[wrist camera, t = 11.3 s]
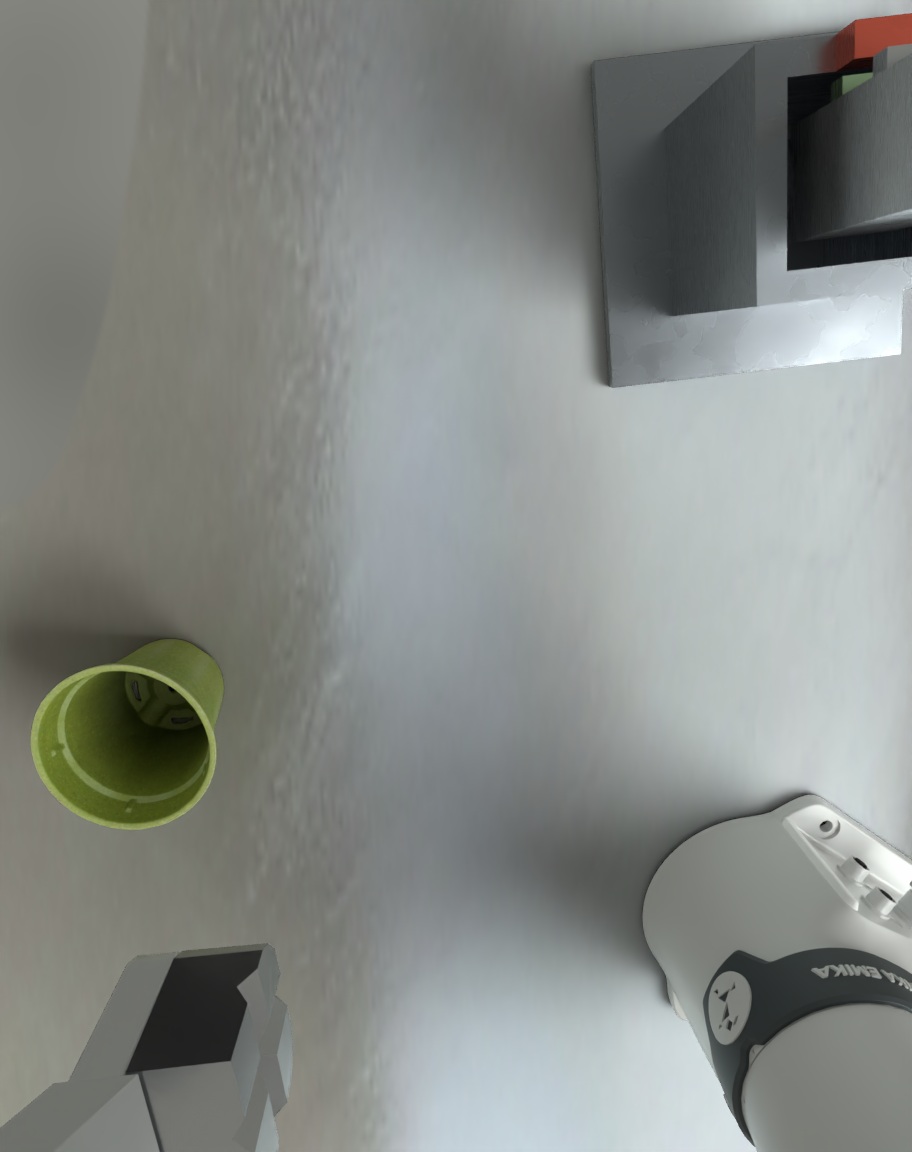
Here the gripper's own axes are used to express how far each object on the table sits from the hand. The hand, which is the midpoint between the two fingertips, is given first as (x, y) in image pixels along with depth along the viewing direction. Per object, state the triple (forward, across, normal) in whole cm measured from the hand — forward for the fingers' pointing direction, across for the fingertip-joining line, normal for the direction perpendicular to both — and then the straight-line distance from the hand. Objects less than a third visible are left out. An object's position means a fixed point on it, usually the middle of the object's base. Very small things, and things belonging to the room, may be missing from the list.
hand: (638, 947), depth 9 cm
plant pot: (+39, +20, +12) cm, 45 cm away
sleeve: (+39, -16, -11) cm, 44 cm away
